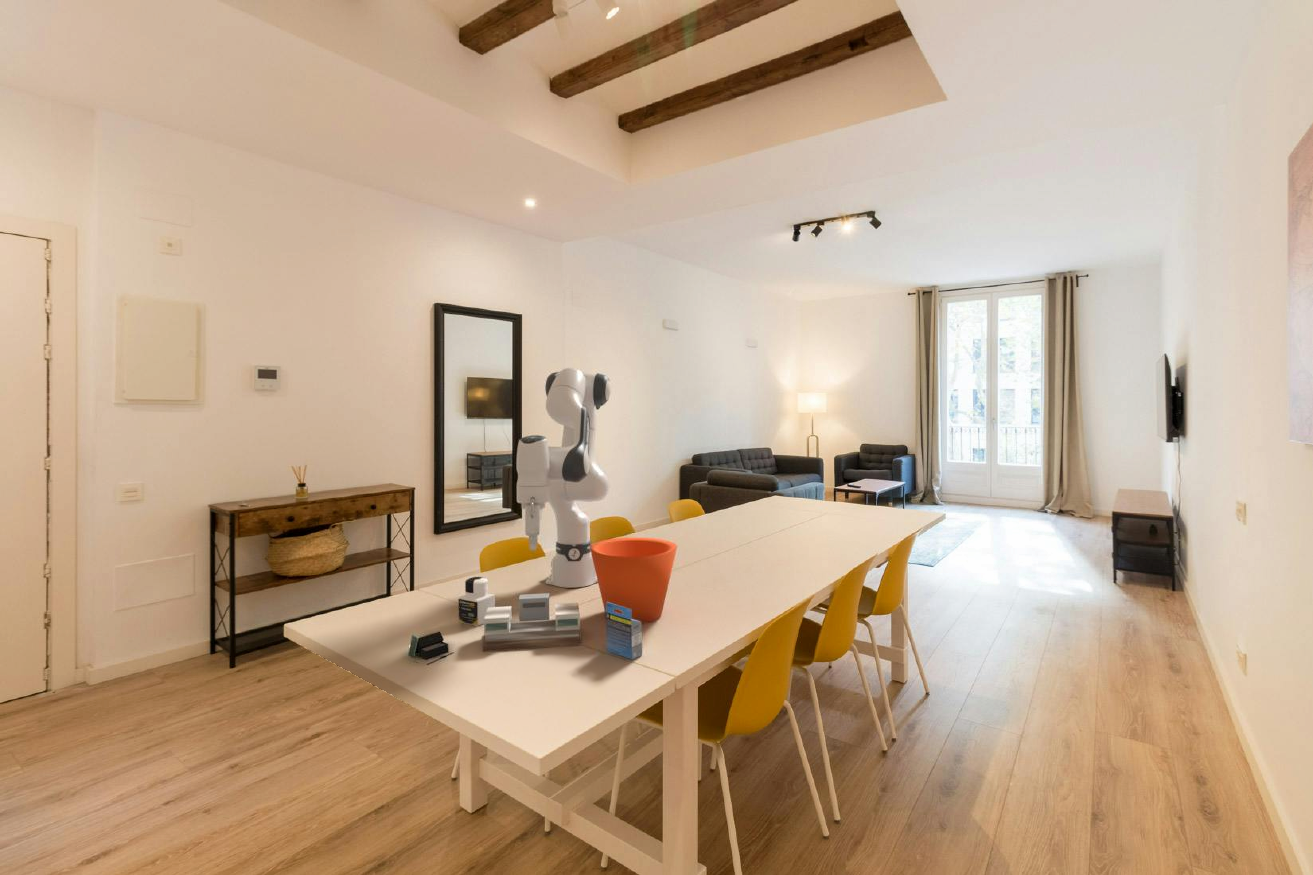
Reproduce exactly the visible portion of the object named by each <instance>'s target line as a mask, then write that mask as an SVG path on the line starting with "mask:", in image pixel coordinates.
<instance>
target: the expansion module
mask: <svg viewBox="0 0 1313 875" xmlns="http://www.w3.org/2000/svg"><path fill="white" fill-rule="evenodd" d="M518 618H519V619H518V621H536V620H550V593H549V592H548V593H532V594H531V593H530V594H529V593H528V594H519V597H518Z"/></svg>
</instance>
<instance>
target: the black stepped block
mask: <svg viewBox="0 0 1313 875" xmlns="http://www.w3.org/2000/svg"><path fill="white" fill-rule="evenodd" d="M408 649H409V650H408V653H407V655H408V656H409V657H410V658H412V659H413V662H415V663H416V664H419V661H417V660H415V656H416V655H417V654H418V657H419V658H421V659H423V660H425V661H428V660H431V659H434V658H436V657H440V658H437V659H435V660H433V661H430V662H428V663H426V666H428V665H431V664H433V663H435V662H439V661H440V660H441V659H446V658H447V657H448V656H450V655H453V654H454V653H455V652H454V651H453V652H450V653H449V643H446V642H445V641H444V637H443V634H442V632H441V630H440V631H436V632H433V633H429V634H426V635H423V636H420V637H419V636H417V635H415V634H411V640H410V644H409V648H408ZM445 654H446V655H445Z"/></svg>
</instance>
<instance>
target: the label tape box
mask: <svg viewBox="0 0 1313 875" xmlns="http://www.w3.org/2000/svg"><path fill="white" fill-rule="evenodd" d="M614 609H616V610H617V609H619V610H620V611H622V612H623V614H620V613H617V612H615V611H614ZM631 613H632V609H629V608H625V607H622V606H619V605H616V604H612V603H609V602H607V604H606V614H605V621H606V622H605V627H606V629H605V631H606V652H610V653H611V654H615V655H619V656H621V657H625V658H626V659H630V660H633V661H634V660H635V659H637V658H639V657H641V656H642V655H643V637H642V636H643V633H642V623H641V621H638V620H634V619H631Z"/></svg>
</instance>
